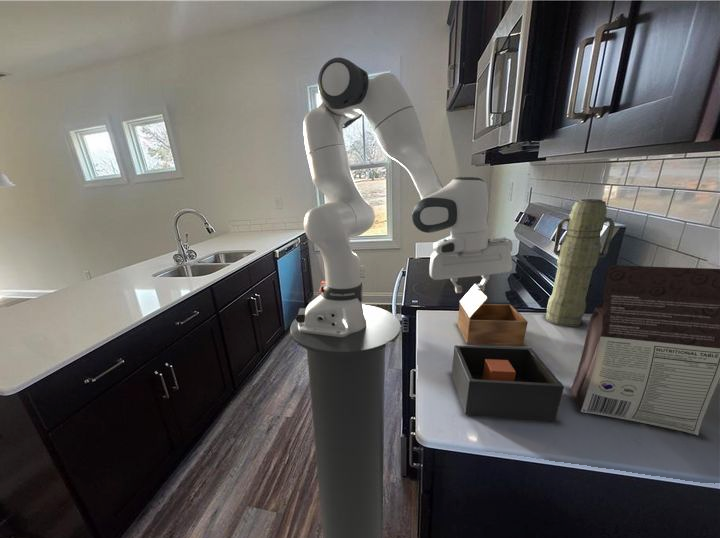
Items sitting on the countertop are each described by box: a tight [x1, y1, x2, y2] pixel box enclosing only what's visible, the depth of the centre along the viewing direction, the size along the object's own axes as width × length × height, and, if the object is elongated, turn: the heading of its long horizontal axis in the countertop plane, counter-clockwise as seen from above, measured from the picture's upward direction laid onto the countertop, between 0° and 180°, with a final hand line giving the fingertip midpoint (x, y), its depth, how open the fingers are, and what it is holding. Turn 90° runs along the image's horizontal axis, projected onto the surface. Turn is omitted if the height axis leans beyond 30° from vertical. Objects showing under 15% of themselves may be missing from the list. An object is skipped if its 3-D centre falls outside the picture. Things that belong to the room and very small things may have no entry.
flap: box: [459, 283, 489, 319], centre depth 88 cm, size 7×12×1 cm
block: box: [482, 359, 516, 381], centre depth 65 cm, size 4×4×6 cm
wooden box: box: [457, 303, 529, 347], centre depth 89 cm, size 14×12×7 cm
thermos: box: [545, 198, 616, 327], centre depth 90 cm, size 9×12×35 cm
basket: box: [451, 344, 565, 422], centre depth 65 cm, size 16×14×8 cm
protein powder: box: [569, 264, 720, 436], centre depth 55 cm, size 16×9×28 cm, turn 66°
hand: (469, 291), depth 87 cm, fingers open, 4 cm apart
